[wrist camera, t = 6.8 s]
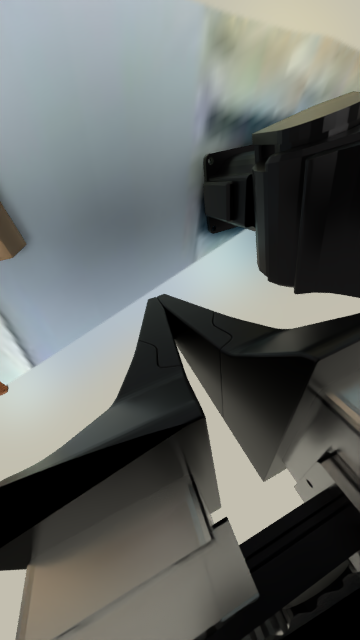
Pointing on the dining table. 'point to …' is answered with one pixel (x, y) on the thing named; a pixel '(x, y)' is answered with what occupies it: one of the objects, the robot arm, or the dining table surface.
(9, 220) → the walnut block
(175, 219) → the dining table surface
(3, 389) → the sunglasses case
